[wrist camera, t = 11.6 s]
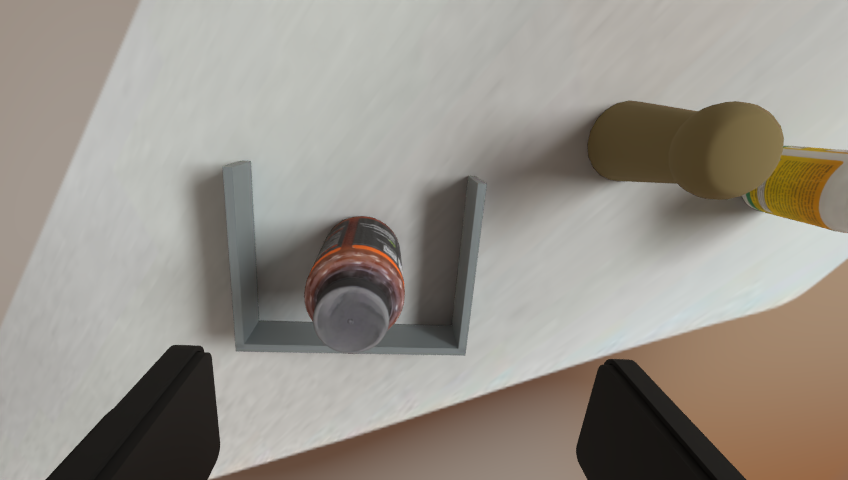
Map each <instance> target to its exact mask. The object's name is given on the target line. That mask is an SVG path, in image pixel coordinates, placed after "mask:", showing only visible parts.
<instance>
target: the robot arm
mask: <svg viewBox="0 0 848 480" xmlns="http://www.w3.org/2000/svg"><path fill="white" fill-rule="evenodd" d="M219 451H220V437H219V427H218V416H217V406H216V396H215V386H214V375H213V365H212V357H211V354H210V353H204V349H203V347H201V346H191V345H173V346H171V347H170V348H169V349H168V350H167V351H166V352H165V353H164V354H163V355H162V356H161V358H160V359H159V360H158V361H157V362H156V363H155V364H154V365H153V366H152V367H151V368H150V369H149V371H148V372H147V373H146V374H145V375H144V376H143V377H142V378H141V379H140V380H139V381H138V383H137V384H136V385H135V386H134V387H133V388H132V389H131V390H130V391H129V392H128V393H127V394H126V396H125V397H124V398H123V399H122V400H121V401H120V402H119V403H118V404H117V405H116V406H115V408H114V409H112V410H111V411H110V412H108V413H107V414H106V415H105V416H104V417H103V418H102V419H101V420H100V421H99V423H98V424H97V425H96V426H95V427H94V428H93V429H92V430H91V431H90V432H89V433H88V434H87V436H86V437H85V438H84V439H83V440H82V441H81V442H80V443H79V444H78V445H77V446H76V447H75V448H74V450H73V451H72V452H71V453H70V454H69V455H68V456H67V457H66V458H65V459H64V460H63V461H62V463H61V464H60V465H59V466H58V467H57V468H56V469H55V470H54V471H53V472H52V473H51V474H50V475H49V477H48V478H47V479H46V480H207V479H208V477H209V475H210V473H211V471H212V469H213V467H214V465H215V463H216V461H217V458H218V455H219ZM576 454H577V459H578V462H579V464H580V466H581V468H582V470H583V472H584V474H585V476H586V478H587V480H746V479H745V478H744V477H743V476H742V475H741V474H740V472H739V471H738V470H737V469H736V468H735V467H734V466H733V465H732V464H731V463H730V462H729V461H728V460H727V459H726V458H725V457H724V455H723V454H722V453H721V452H720V451H719V450H718V449H717V448H716V447H715V446H714V445H713V444H712V443H711V442H710V441H709V440H708V438H707V437H705V435H704V434H703V433H702V432H701V431H700V430H699V429H698V428H697V427H696V426H695V425H694V424H693V423H692V422H691V420H690V419H689V418H688V417H687V416H686V415H685V414H684V413H683V412H682V411H681V410H680V409H679V408H678V407H677V406H676V405H675V404H674V403H673V401H672V400H671V399H670V398H669V397H668V396H667V395H666V394H665V393H664V392H663V391H662V390H661V389H660V388H659V387H658V386H657V385H656V384H655V382H654V381H653V380H652V379H651V378H650V377H649V376H648V375H647V374H646V373H645V372H644V371H643V370H642V369H641V368H640V367H639V365H637V363H635V362H634V361H633V360H623V359H608V360H607V361H606V362H605V363H604V365H601V366H600V367H599V369H598V371H597V375H596V378H595V382H594V385H593V389H592V393H591V396H590V400H589V403H588V407H587V411H586V414H585V418H584V421H583V425H582V428H581V432H580V436H579V439H578V443H577V448H576Z"/></svg>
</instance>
